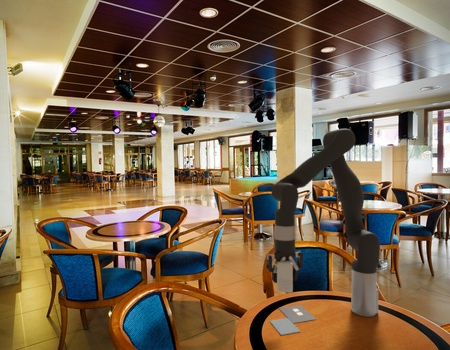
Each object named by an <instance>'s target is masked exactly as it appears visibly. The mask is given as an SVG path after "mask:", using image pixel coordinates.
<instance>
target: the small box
mask: <svg viewBox="0 0 450 350" xmlns="http://www.w3.org/2000/svg"><path fill="white" fill-rule="evenodd" d="M276 273H277V283H276V289H277V292H278V293H293V292H294V291H293V290H294V283H293V282H294V280H293V262H292V261H284V262H280V263H279V262H278V261H277V272H276Z"/></svg>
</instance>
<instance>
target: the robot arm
mask: <svg viewBox="0 0 450 350" xmlns="http://www.w3.org/2000/svg"><path fill="white" fill-rule="evenodd" d="M322 138H323V139H322V147H323V149H321V150H320V151H319V152H317V153H315V154H313V155H312V156H311V157H309V158H308V159H306V160H305V161H303V162H302V163H300V165H299V166H297V167H296V168H295V169H294V170H293V171H292V172H291V173H290V174H287V175H286V176H285V177H283V178H281V179H280V180H278V181H277V182H276V183H275V184H274V185H273V187H272V189H271V197H272V198H273V199H274V200H276V201H278V202H280V207H279V208H277V209H276V210H275V213H274V235H273V237H274V239H273V240H274V243H273V244H274V246H273V247H274V252H273V254H269V253H267V254H266V255H265V259H266V261H265V262H266V263H265V264H266V270H267V271H268V272H269V273H271V280H272V282H273V283H275V284H277V261H278V262H279V263H280V262H284V261H292V262H293V281H297V280H298V278H299V270H300V269H302V268H304V253H303V252H301V251H300V250H297V251H296V228H295V212H296V210H297V205H298V202H299V190H298V189H300V188H304V187H306V186H308V185H309V183H310V182H311V181H313V180H314V179H315V178H316V177H317V176H318V175H319V174H320V173H321V172H322V171H323V170H324V169H326V168H328V166H330V168H331V172H332V176H333V180H334V183H335V187H336V188H335V189H336V193H337V196H338V200H339V202H340V206H341V210H342V214H343V217H344V218H343V219H344V222H345V228H346V229H345V230H346V236H347V242H348V244H349V247H351V248H352V249H353V250H355V252H357V257H356V259H354V260H352V262H351V288H350V289H351V290H350V291H351V293H350V294H351V297H350V298H351V301H350V302H351V303H350V304H351V305H350V306H351V309H350V310H351V311H352V312H353V313H354V314H355V315H357V316H362V317H366V318H367V317H368V318H369V317H370V318H371V317H374V316H376V315H377V314H379V289H378V288H377V283H378V282H377V277H378V276H377V272H378V271H377V269H378V266H379V265H380V255H381V254H380V253H381V242H380V239H379V237H378V235H377V234H375V233H373V232H371V231H368V230H366V227H365V225H364V221H363V217H362V211H363V209H364V202H365V196H364V191H363V187H362V183H361V181H360V179H359V178H358V176H357V175H356V174H355V173H354V171H353V170H352V169H351V168H350V166H349V165H348V163H347V161H346V158H345V154H347V152H349V151H351V150H352V149H353V147H354V146H355V143H356V136H355V134H354V132H353V131H352V130H351V129H349V128H339V129H335V130H330V131H327V132H326V133H325V134H324V136H323V137H322ZM295 258H296V262H295V260H294V259H295ZM274 259H275V260H274ZM273 261H274V262H273Z"/></svg>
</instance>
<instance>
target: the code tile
mask: <svg viewBox="0 0 450 350" xmlns="http://www.w3.org/2000/svg"><path fill="white" fill-rule="evenodd" d="M278 309H279V310H280V311H281V312H282V314H283V315H284V316H285V318H288V319H289V320H290V321H291V322H292V323H293V324H294V325H295V324H299V323H304V322H309V321H316V320H317V318H315V317H314V316H313V315H312V314H311V313H310V312H309V311H307V309H305V308H304V307H303V306H302V305H301V304H299V305H298V304H297V305H291V306H285V307H279V308H278Z"/></svg>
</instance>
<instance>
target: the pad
mask: <svg viewBox="0 0 450 350" xmlns="http://www.w3.org/2000/svg"><path fill="white" fill-rule="evenodd" d="M269 322H270V323H271V325H272V326H273V327H274V328H275V330H276V331H277V332H278V334H280V336H285V335H291V334H296V333H301V330H300V329H299V328H298V327H297V326H296V325H295V323H294V324H293V323H292V322H291V321H290V320H289V319H288V318H287V317H285V318H280V319H273V320H269Z"/></svg>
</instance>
